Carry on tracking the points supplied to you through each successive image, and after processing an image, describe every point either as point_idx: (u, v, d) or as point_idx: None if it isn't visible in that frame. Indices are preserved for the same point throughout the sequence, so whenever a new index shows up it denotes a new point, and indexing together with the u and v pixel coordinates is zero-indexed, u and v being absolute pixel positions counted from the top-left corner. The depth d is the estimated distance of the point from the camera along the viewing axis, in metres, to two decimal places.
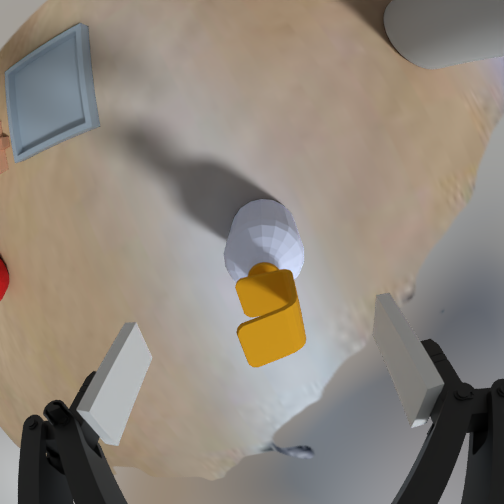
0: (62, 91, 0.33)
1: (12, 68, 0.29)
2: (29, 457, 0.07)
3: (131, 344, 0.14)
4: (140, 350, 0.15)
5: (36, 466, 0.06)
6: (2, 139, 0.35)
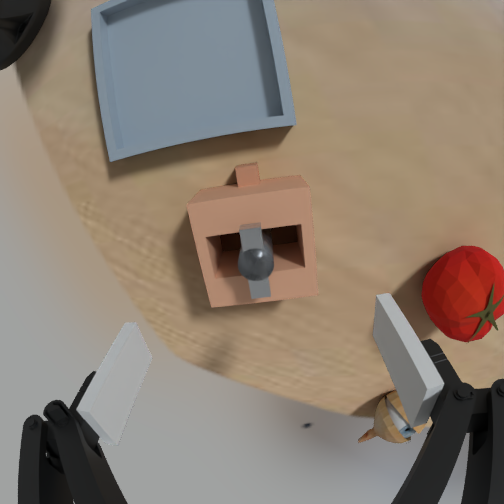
0: (190, 24, 0.22)
1: (110, 139, 0.25)
2: (29, 457, 0.07)
3: (131, 344, 0.14)
4: (140, 350, 0.15)
5: (36, 466, 0.06)
6: (239, 167, 0.26)
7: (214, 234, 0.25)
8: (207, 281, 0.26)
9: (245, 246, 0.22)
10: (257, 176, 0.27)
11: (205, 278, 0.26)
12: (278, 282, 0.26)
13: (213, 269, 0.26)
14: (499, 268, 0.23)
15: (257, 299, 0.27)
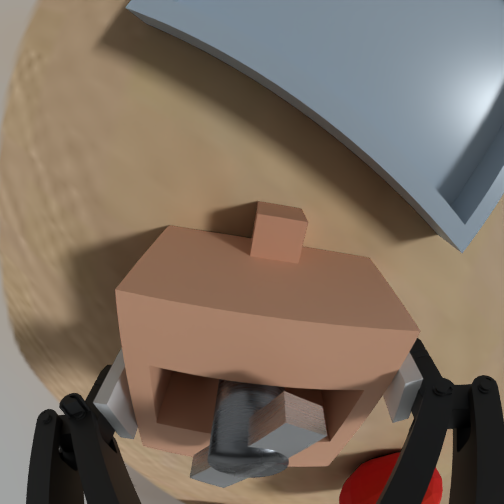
0: None
1: None
2: (41, 452, 0.07)
3: None
4: None
5: (48, 462, 0.07)
6: (267, 214, 0.12)
7: (170, 368, 0.09)
8: (141, 420, 0.11)
9: (263, 443, 0.08)
10: (299, 247, 0.12)
11: (138, 416, 0.11)
12: None
13: (156, 409, 0.11)
14: (440, 500, 0.16)
15: None
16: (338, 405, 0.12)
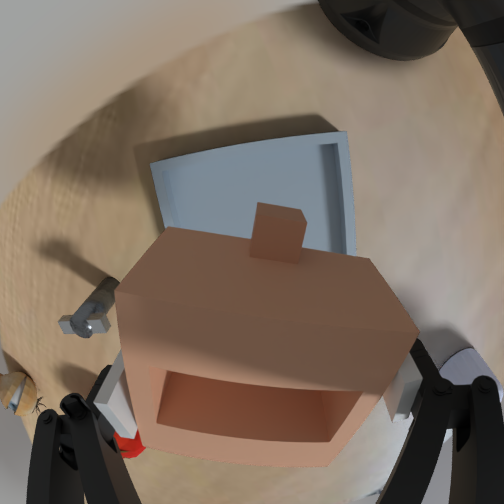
0: None
1: (173, 163, 0.25)
2: (41, 452, 0.07)
3: None
4: None
5: (48, 462, 0.07)
6: (266, 215, 0.12)
7: (169, 368, 0.09)
8: (141, 421, 0.11)
9: (90, 322, 0.25)
10: (298, 247, 0.12)
11: (137, 417, 0.11)
12: (273, 452, 0.12)
13: (155, 409, 0.11)
14: (140, 451, 0.36)
15: (225, 459, 0.12)
16: (337, 406, 0.12)
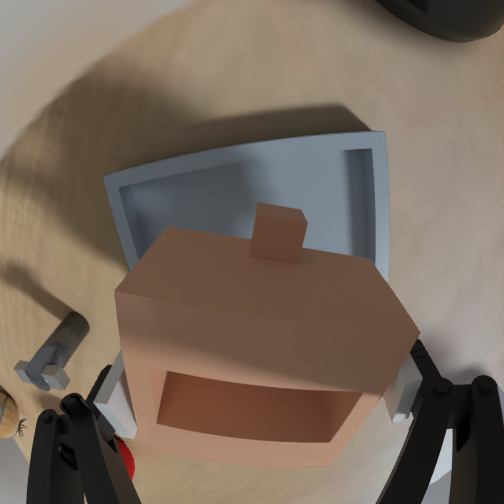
0: None
1: (133, 176, 0.17)
2: (41, 452, 0.07)
3: None
4: None
5: (48, 462, 0.07)
6: (267, 215, 0.12)
7: (170, 369, 0.09)
8: (141, 421, 0.11)
9: (45, 376, 0.17)
10: (299, 248, 0.12)
11: (137, 417, 0.11)
12: (273, 452, 0.12)
13: (155, 410, 0.11)
14: None
15: (226, 460, 0.12)
16: (338, 406, 0.12)
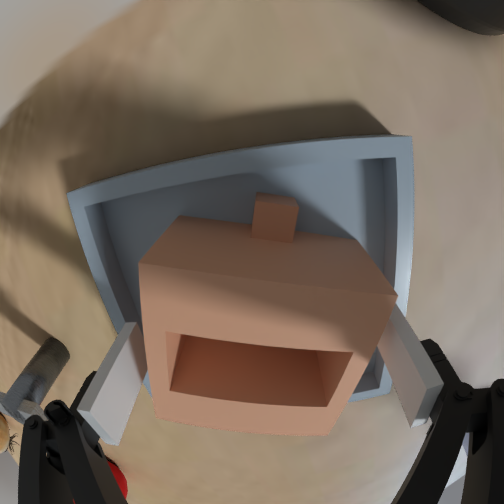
0: None
1: (100, 193, 0.14)
2: (29, 457, 0.07)
3: (132, 344, 0.14)
4: (140, 350, 0.15)
5: (36, 466, 0.06)
6: (264, 201, 0.14)
7: (183, 332, 0.12)
8: (155, 390, 0.13)
9: (21, 412, 0.14)
10: (292, 228, 0.14)
11: (152, 385, 0.13)
12: (276, 417, 0.14)
13: (169, 377, 0.13)
14: None
15: (232, 427, 0.14)
16: (333, 371, 0.14)
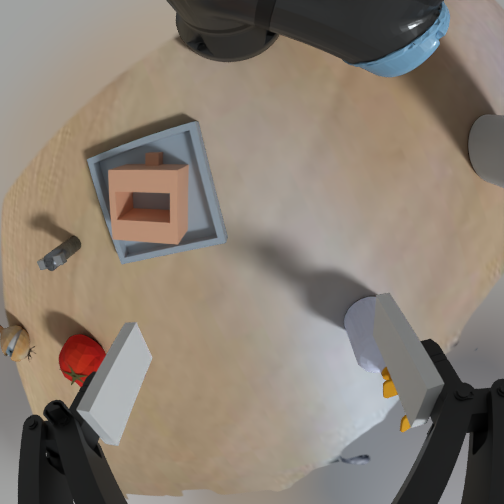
0: None
1: (99, 157, 0.39)
2: (29, 457, 0.07)
3: (131, 344, 0.14)
4: (140, 350, 0.15)
5: (36, 466, 0.06)
6: (148, 153, 0.38)
7: (120, 191, 0.36)
8: (112, 220, 0.38)
9: (54, 258, 0.39)
10: (157, 160, 0.39)
11: (111, 218, 0.38)
12: (153, 230, 0.38)
13: (117, 213, 0.38)
14: None
15: (139, 239, 0.39)
16: None
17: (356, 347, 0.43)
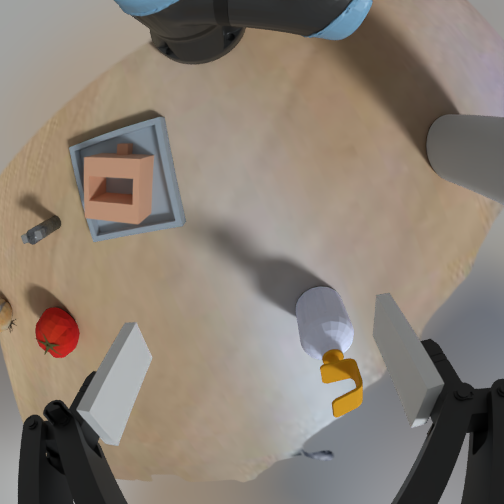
0: None
1: (79, 146, 0.42)
2: (29, 457, 0.07)
3: (131, 344, 0.14)
4: (140, 350, 0.15)
5: (36, 466, 0.06)
6: (120, 143, 0.42)
7: (92, 175, 0.40)
8: (85, 201, 0.41)
9: (35, 233, 0.42)
10: (127, 150, 0.42)
11: (84, 199, 0.41)
12: (118, 210, 0.42)
13: (89, 195, 0.41)
14: (67, 348, 0.53)
15: (107, 218, 0.43)
16: None
17: (301, 332, 0.47)
